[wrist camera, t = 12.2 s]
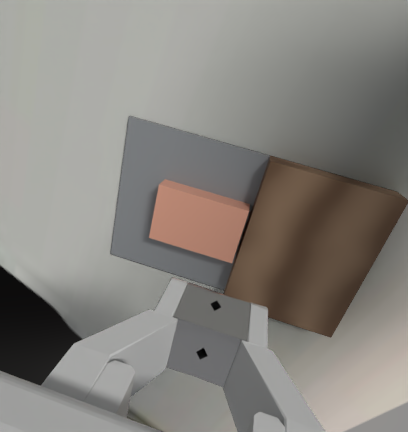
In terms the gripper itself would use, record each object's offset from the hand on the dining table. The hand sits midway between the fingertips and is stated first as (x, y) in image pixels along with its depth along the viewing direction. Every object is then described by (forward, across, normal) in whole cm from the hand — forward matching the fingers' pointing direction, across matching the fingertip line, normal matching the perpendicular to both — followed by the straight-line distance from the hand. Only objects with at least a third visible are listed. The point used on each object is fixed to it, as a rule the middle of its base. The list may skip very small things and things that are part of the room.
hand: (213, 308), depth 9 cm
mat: (+22, +6, +7) cm, 23 cm away
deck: (+22, -7, +7) cm, 24 cm away
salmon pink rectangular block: (+21, +4, +7) cm, 23 cm away
